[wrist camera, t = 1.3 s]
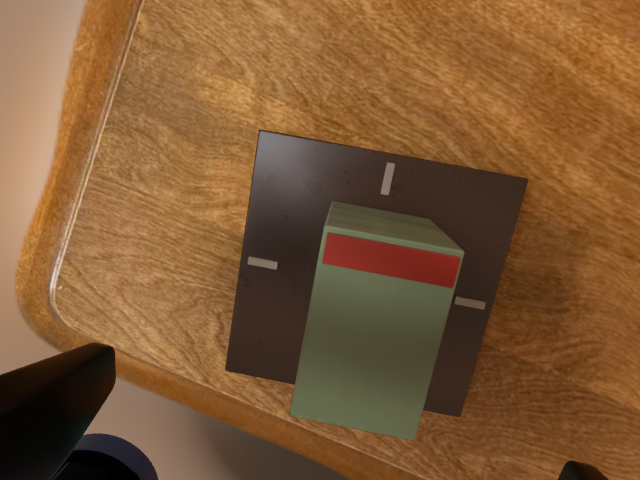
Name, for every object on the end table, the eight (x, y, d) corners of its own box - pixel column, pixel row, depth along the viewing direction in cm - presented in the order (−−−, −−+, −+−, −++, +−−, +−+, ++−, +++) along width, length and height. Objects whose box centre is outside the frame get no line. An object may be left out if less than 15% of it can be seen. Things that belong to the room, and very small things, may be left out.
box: (396, 359, 21) (416, 447, 15) (305, 340, 21) (287, 420, 15) (430, 219, 19) (467, 253, 13) (331, 200, 19) (323, 225, 13)
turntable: (451, 395, 23) (461, 420, 21) (234, 352, 24) (223, 372, 22) (512, 175, 21) (530, 179, 19) (267, 130, 21) (258, 129, 19)
